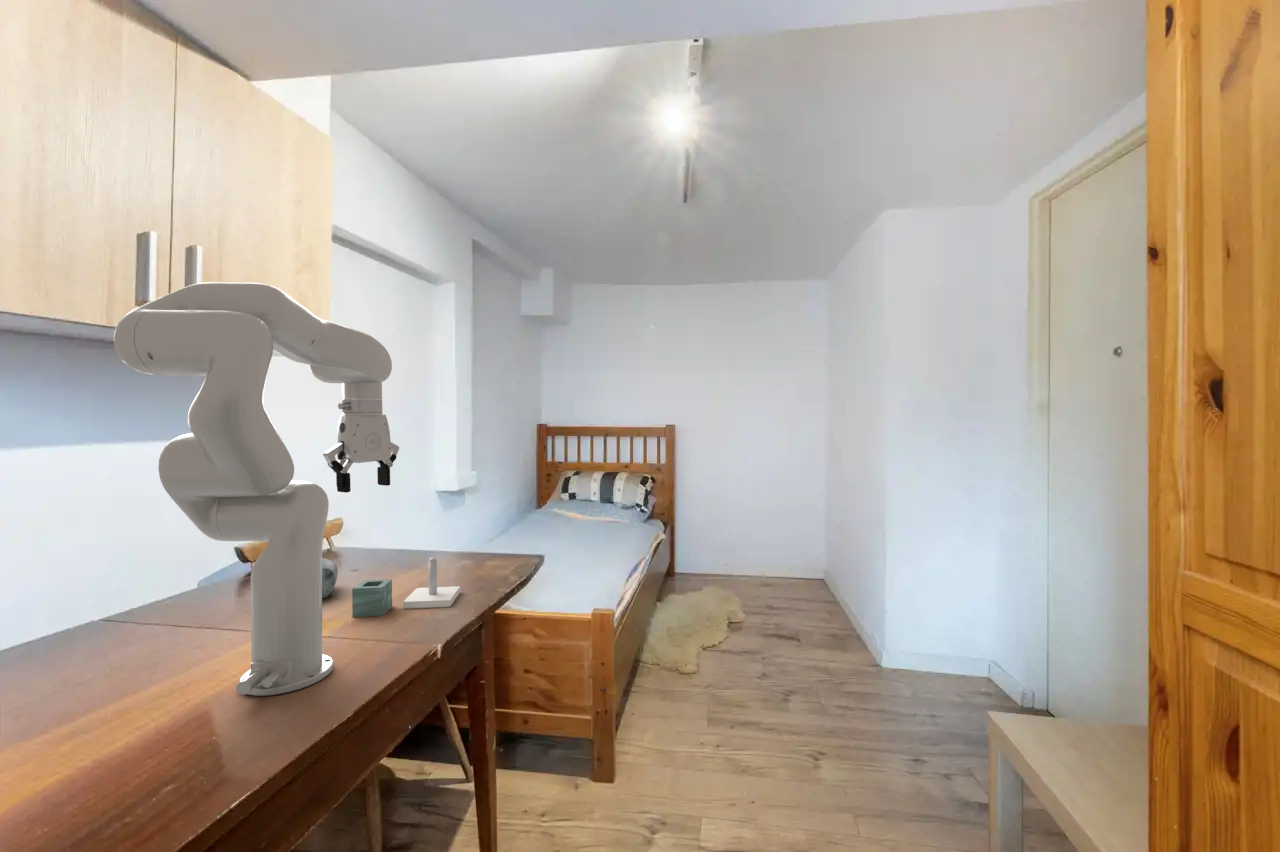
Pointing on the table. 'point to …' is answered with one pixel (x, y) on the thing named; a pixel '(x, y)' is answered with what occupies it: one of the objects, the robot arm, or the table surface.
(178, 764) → the table surface
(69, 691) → the table surface
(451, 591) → the white peg stand
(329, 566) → the spool
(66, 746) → the table surface
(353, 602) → the bead
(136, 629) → the table surface
